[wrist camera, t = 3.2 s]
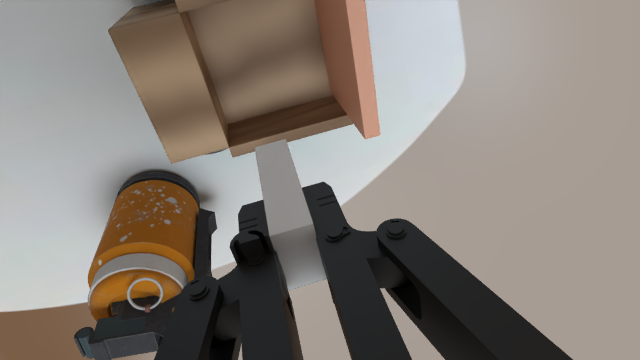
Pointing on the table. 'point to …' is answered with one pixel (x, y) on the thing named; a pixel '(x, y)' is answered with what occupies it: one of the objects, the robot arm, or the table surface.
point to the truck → (228, 73)
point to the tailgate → (349, 61)
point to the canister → (145, 264)
